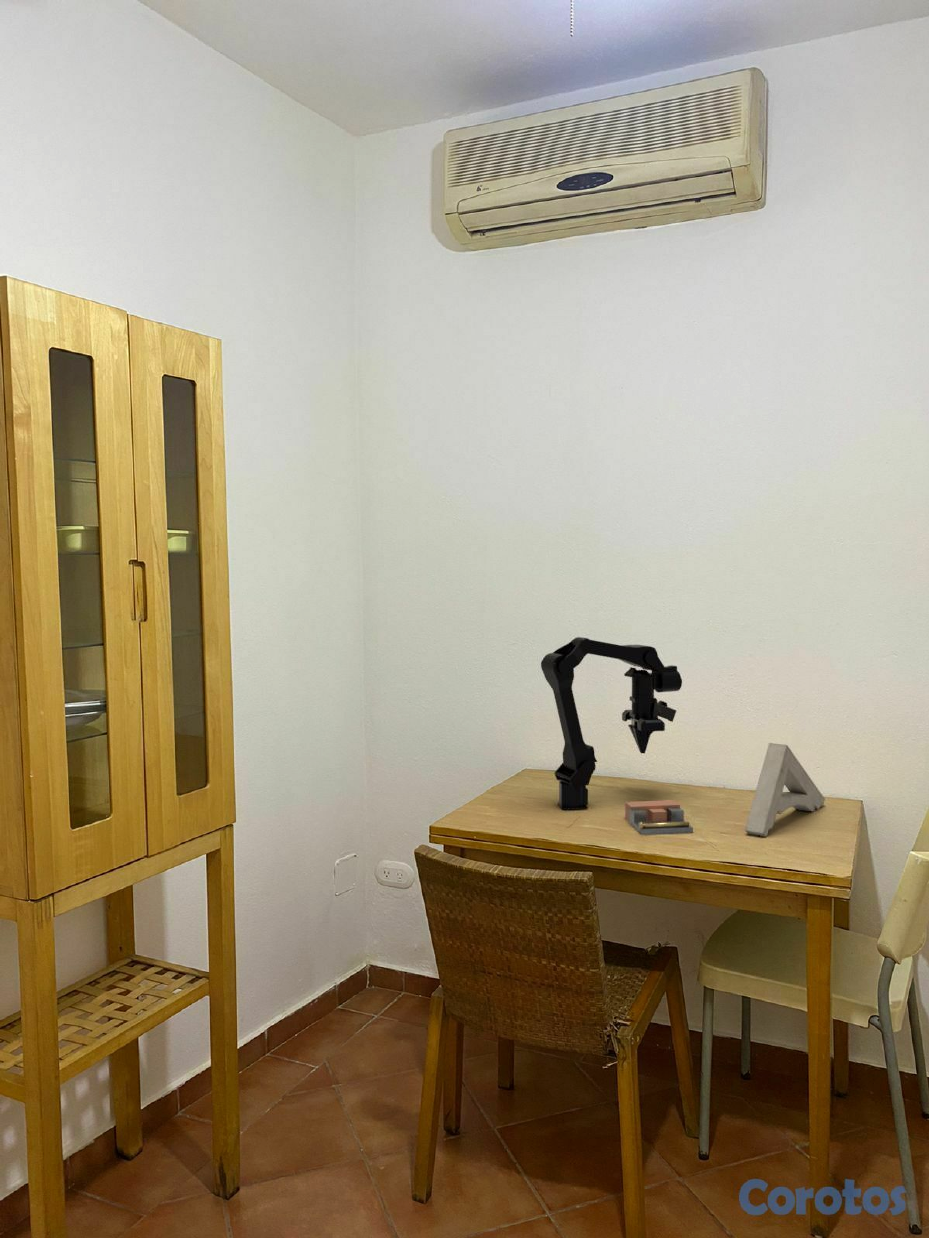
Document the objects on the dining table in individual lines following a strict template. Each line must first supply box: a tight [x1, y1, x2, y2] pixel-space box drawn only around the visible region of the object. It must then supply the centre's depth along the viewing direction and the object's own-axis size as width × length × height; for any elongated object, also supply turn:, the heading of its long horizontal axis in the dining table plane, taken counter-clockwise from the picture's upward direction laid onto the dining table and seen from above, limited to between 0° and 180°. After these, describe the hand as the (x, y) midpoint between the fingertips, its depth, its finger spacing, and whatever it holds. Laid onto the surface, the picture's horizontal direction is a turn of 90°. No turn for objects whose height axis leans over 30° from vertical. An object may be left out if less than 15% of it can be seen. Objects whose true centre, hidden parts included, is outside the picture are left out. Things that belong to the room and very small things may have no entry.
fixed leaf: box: [629, 806, 694, 836], centre depth 230 cm, size 12×10×4 cm
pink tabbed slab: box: [624, 799, 681, 823], centre depth 236 cm, size 12×8×4 cm, turn 97°
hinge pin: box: [639, 821, 690, 829], centre depth 226 cm, size 12×2×2 cm, turn 96°
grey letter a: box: [744, 742, 826, 838], centre depth 236 cm, size 22×4×30 cm
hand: (642, 752), depth 258 cm, fingers closed
